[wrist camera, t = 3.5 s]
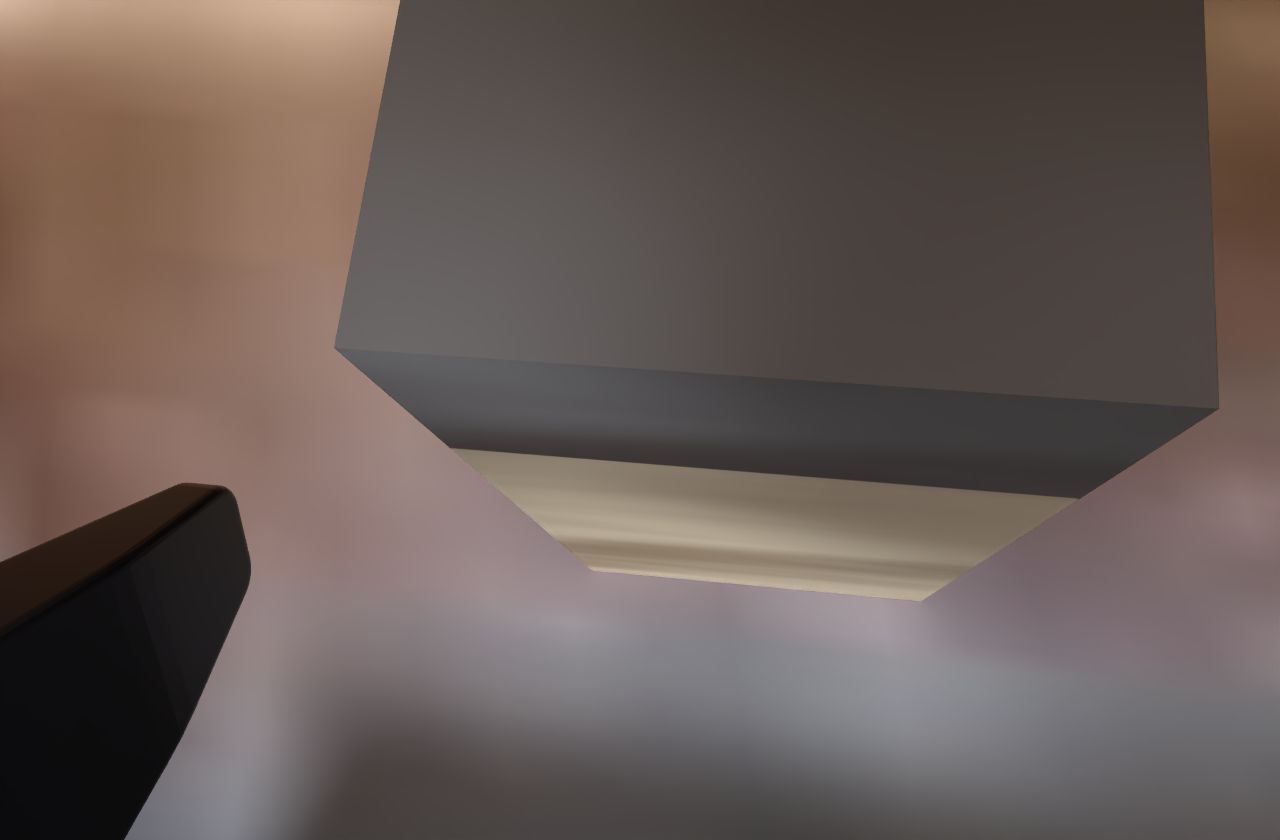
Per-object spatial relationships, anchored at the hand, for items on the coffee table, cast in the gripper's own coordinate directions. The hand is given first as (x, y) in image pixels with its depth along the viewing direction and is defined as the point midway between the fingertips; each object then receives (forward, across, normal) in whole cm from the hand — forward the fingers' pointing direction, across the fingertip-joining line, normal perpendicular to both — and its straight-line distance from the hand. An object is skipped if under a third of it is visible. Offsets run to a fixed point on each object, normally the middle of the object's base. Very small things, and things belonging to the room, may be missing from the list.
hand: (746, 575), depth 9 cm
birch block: (+10, 0, +5) cm, 11 cm away
